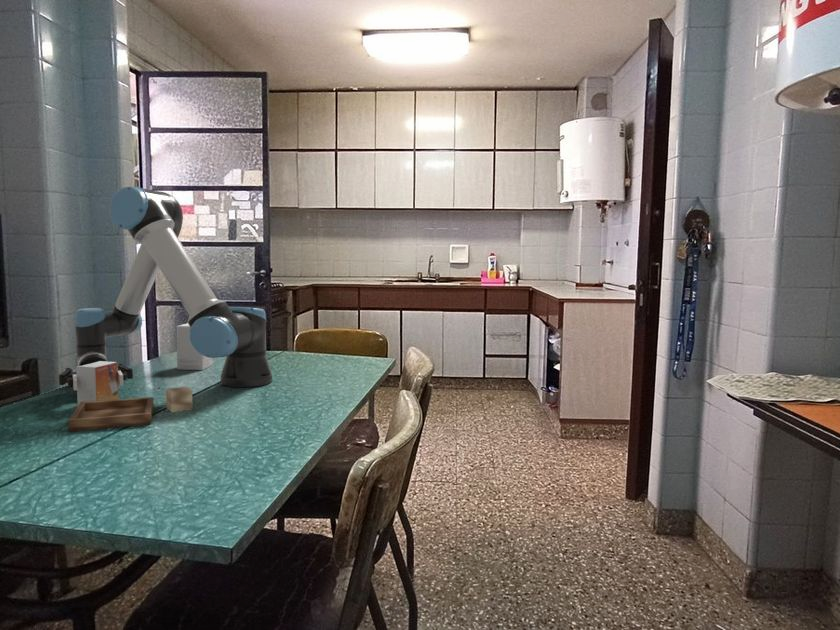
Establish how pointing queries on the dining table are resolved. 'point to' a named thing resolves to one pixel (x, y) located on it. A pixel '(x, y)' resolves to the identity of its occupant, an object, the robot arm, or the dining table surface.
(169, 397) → the beech block
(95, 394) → the small box
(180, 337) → the supplement box
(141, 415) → the tray
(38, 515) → the dining table surface
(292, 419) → the dining table surface
